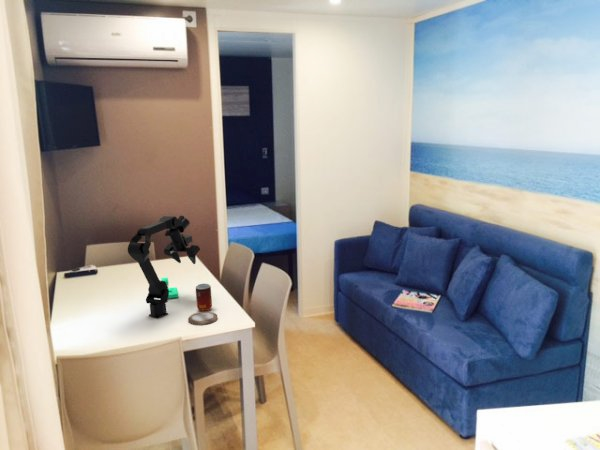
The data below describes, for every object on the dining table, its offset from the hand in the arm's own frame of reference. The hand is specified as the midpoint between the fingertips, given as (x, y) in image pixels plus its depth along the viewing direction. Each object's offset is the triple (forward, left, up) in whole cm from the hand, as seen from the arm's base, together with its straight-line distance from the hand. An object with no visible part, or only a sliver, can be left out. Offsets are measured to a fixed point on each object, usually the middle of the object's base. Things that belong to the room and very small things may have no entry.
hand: (187, 263), depth 253 cm
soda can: (-7, -19, -19) cm, 28 cm away
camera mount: (-3, +12, -19) cm, 23 cm away
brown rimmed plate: (-16, -28, -19) cm, 37 cm away
